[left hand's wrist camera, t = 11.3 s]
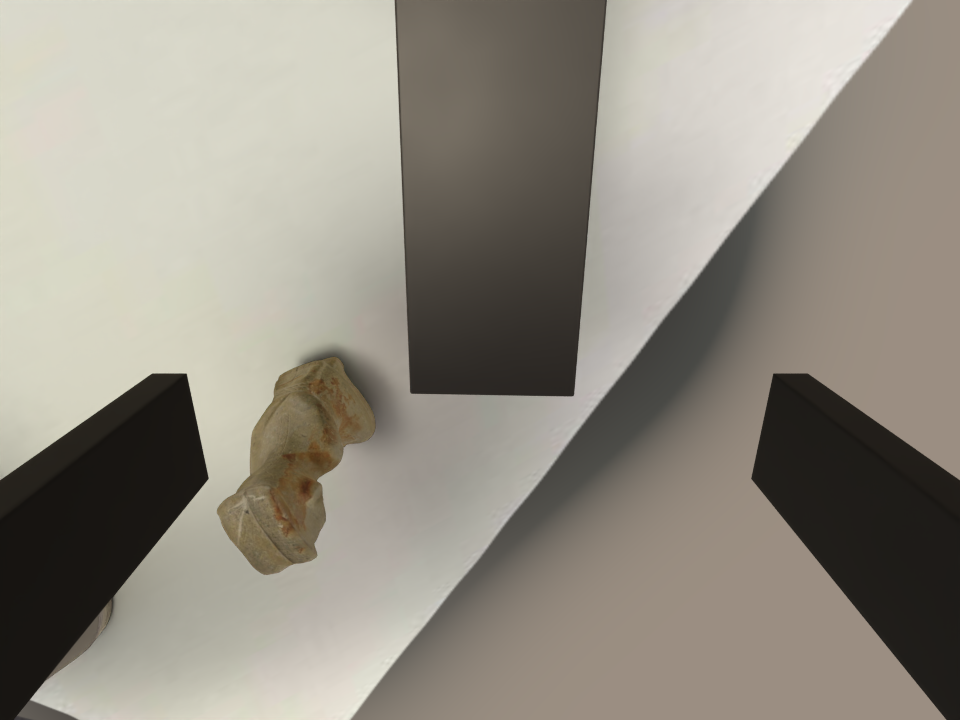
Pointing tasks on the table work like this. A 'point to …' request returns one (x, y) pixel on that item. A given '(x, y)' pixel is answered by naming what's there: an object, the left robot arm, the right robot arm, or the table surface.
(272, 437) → the sculpture
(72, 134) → the table surface
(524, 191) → the bar
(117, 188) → the table surface
